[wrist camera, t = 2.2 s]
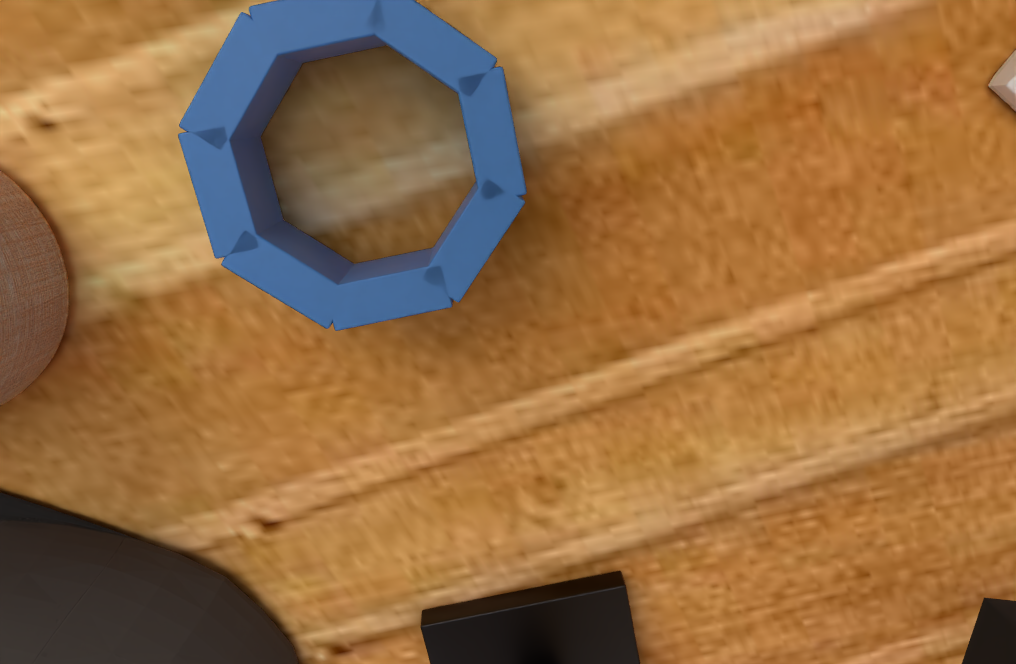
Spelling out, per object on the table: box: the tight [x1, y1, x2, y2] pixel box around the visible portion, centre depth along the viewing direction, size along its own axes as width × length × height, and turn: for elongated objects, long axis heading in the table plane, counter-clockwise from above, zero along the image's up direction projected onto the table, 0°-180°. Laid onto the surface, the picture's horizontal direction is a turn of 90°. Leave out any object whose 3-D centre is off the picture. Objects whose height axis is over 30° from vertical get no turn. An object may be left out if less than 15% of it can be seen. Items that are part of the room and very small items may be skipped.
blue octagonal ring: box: [178, 0, 527, 331], centre depth 28 cm, size 11×11×4 cm
